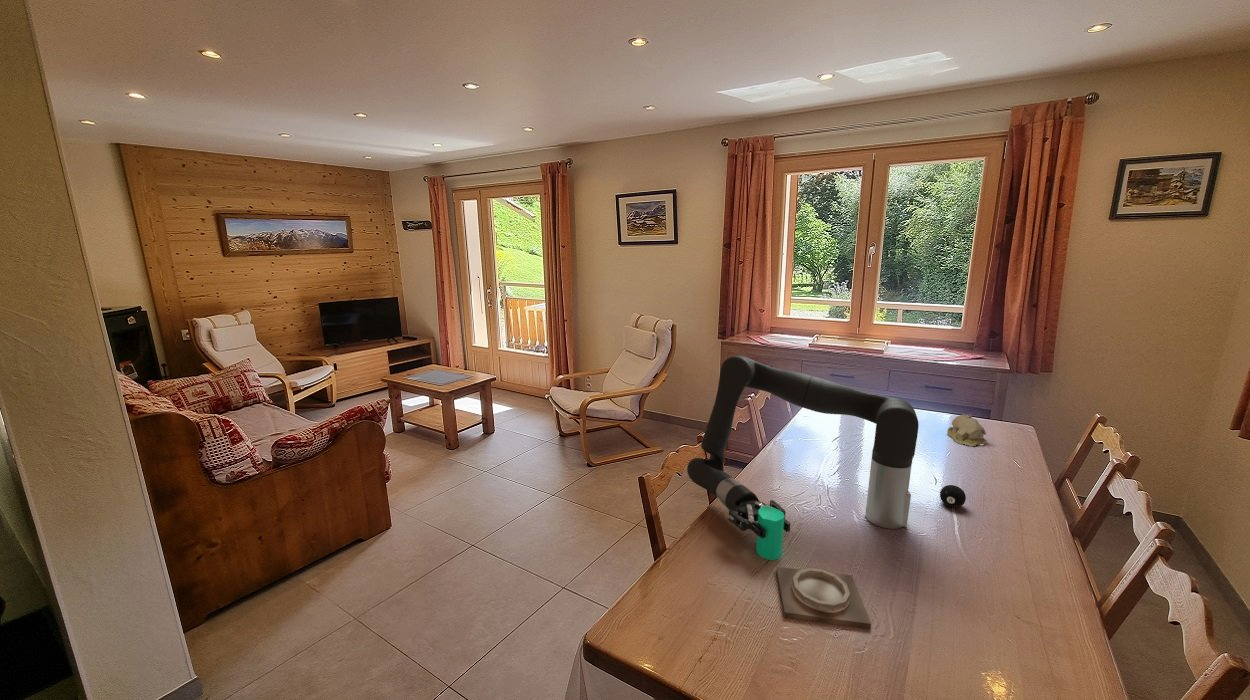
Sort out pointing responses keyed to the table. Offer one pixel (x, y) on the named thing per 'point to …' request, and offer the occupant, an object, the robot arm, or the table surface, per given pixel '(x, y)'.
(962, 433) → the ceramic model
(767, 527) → the candle
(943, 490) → the billiard ball
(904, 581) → the table surface
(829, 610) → the holder
